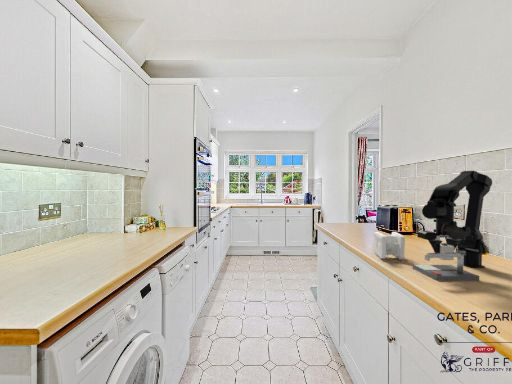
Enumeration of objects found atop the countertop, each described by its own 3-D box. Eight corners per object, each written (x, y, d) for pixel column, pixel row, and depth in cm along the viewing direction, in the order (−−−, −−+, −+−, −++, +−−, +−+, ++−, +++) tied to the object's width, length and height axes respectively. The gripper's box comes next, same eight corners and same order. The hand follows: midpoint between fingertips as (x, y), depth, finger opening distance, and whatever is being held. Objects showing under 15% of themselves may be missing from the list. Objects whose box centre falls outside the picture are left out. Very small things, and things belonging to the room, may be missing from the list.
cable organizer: (405, 262, 116) (406, 236, 116) (380, 260, 118) (381, 235, 118) (394, 254, 131) (394, 231, 130) (372, 252, 133) (372, 230, 133)
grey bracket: (422, 273, 94) (423, 250, 94) (459, 272, 97) (460, 249, 97) (429, 276, 92) (429, 252, 91) (466, 274, 94) (467, 251, 94)
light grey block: (444, 256, 105) (445, 242, 105) (453, 260, 101) (454, 244, 101) (434, 256, 105) (434, 242, 105) (442, 260, 101) (442, 244, 101)
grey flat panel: (450, 268, 107) (450, 263, 107) (479, 280, 94) (479, 274, 94) (412, 268, 107) (412, 263, 107) (436, 280, 93) (436, 274, 93)
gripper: (436, 220, 94) (435, 262, 95) (486, 220, 95) (484, 262, 95) (416, 216, 105) (415, 254, 106) (461, 217, 106) (460, 254, 106)
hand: (443, 256), depth 103 cm, fingers closed on light grey block, 4 cm apart
